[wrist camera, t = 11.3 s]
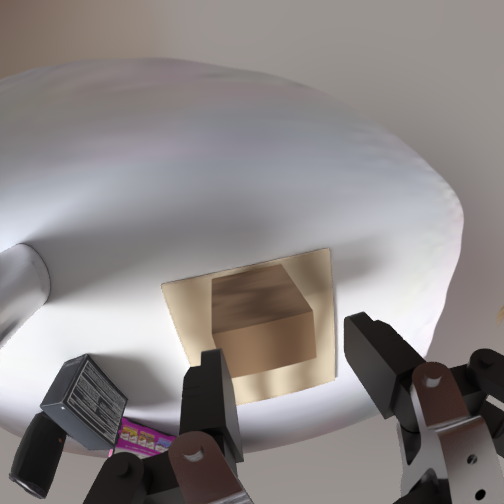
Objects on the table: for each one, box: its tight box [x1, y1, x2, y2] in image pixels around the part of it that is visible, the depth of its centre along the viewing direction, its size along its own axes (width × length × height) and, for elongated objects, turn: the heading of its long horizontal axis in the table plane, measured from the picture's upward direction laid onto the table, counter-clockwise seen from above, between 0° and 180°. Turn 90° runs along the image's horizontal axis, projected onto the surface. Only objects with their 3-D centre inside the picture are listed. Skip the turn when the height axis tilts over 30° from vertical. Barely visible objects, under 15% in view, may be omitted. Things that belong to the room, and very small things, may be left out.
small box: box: [40, 354, 128, 450], centre depth 29 cm, size 11×6×10 cm, turn 24°
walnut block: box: [211, 264, 317, 378], centre depth 26 cm, size 8×5×11 cm, turn 100°
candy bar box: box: [108, 417, 177, 459], centre depth 31 cm, size 11×5×16 cm, turn 58°
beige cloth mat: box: [161, 248, 335, 405], centre depth 34 cm, size 20×22×1 cm
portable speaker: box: [9, 411, 67, 499], centre depth 27 cm, size 9×9×20 cm
